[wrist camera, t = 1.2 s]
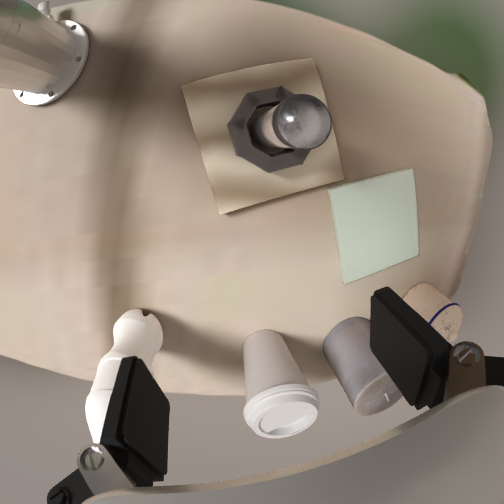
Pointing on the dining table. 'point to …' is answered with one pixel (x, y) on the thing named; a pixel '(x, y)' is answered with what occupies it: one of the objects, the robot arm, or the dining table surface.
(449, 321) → the teacup with lid
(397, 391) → the pillar candle
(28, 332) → the dining table surface
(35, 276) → the dining table surface
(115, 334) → the water bottle
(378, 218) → the sage pad
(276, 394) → the coffee cup
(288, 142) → the steel peg
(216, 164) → the block
